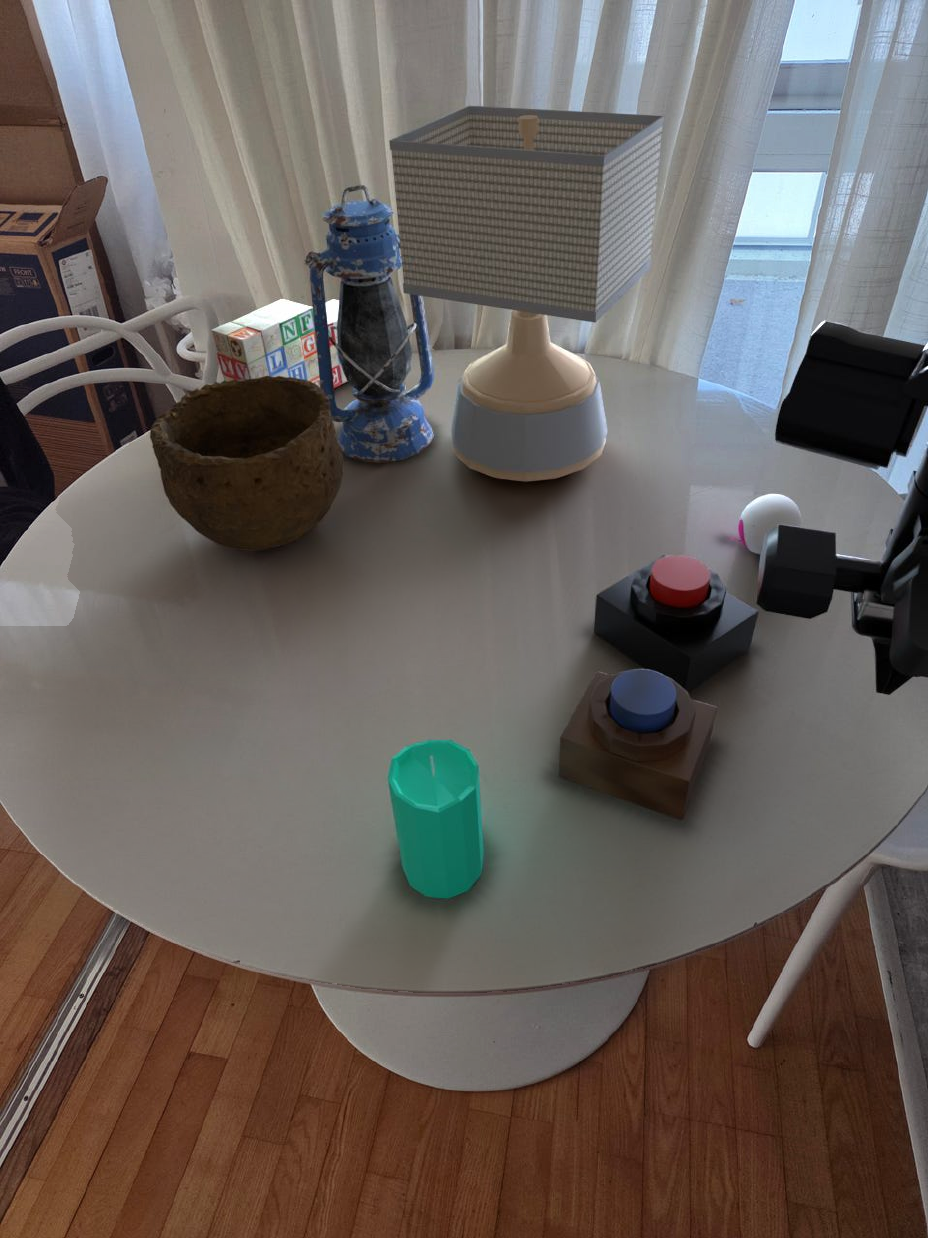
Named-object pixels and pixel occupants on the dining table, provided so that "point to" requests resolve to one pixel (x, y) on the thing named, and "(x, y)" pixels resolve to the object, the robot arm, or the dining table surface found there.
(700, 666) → the switch box
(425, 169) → the desk lamp
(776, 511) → the stress ball
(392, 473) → the dining table surface
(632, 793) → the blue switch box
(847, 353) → the robot arm
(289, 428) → the bowl
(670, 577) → the light button
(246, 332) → the stack of blocks
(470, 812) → the candle
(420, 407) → the lantern
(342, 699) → the dining table surface
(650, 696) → the blue button
